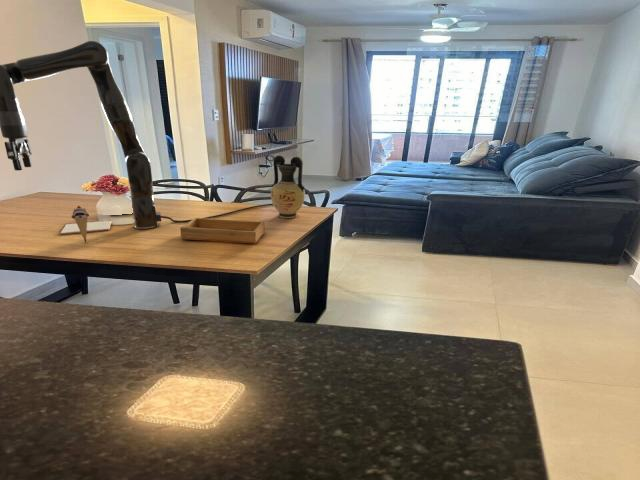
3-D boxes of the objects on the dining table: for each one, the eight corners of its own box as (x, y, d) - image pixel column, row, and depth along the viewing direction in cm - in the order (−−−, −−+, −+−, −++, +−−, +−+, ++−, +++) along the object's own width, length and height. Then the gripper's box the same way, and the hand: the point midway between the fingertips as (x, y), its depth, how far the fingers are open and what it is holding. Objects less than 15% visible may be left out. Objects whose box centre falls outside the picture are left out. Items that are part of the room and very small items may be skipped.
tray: (264, 233, 166) (264, 220, 164) (255, 244, 152) (255, 231, 150) (196, 230, 168) (195, 217, 166) (181, 241, 154) (179, 227, 152)
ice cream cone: (81, 246, 146) (74, 208, 141) (74, 243, 149) (66, 206, 144) (96, 242, 150) (90, 205, 146) (88, 239, 153) (82, 203, 148)
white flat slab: (111, 220, 179) (111, 219, 179) (108, 230, 165) (108, 229, 165) (66, 224, 172) (66, 223, 172) (60, 234, 158) (59, 233, 158)
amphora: (308, 212, 200) (308, 154, 190) (301, 221, 184) (301, 158, 175) (275, 210, 203) (274, 153, 193) (266, 219, 187) (264, 157, 177)
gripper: (16, 125, 134) (27, 171, 139) (32, 123, 147) (42, 165, 152) (-10, 125, 132) (3, 172, 137) (9, 123, 145) (20, 166, 150)
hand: (23, 168), depth 145 cm, fingers open, 8 cm apart
